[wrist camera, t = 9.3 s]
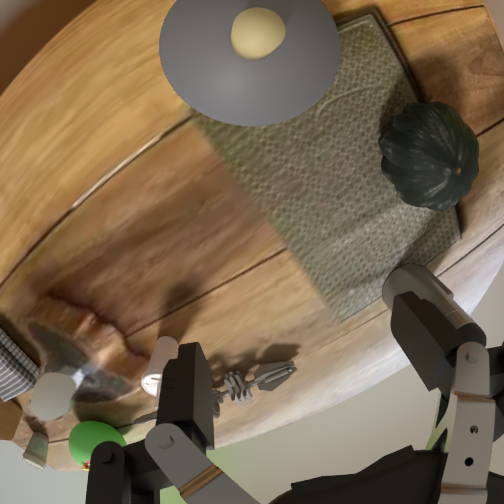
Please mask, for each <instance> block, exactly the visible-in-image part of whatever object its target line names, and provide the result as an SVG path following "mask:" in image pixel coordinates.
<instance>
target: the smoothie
mask: <svg viewBox="0 0 504 504" xmlns="http://www.w3.org/2000/svg"><path fill="white" fill-rule="evenodd" d="M177 356H178V343H177V341H176V340H175V339H174V338H172V337H169V336H162V337H160V338H159V339H158V340H157V342H156V345H155V348H154V351H153V353H152V356H151V359H150V362H149V365H148V367H147V370H146V372H145V373H144V374H143V376H142V387H143V388H144V390H145V391H146V392H148V393H149V394H151V395H153V396H156V401H155V409H158V403H159V395H160V391H161V390H160V388H161V382H162V373H163V369H164V367H165V366H166V364H167V362H168V361H169V359H175V358H177Z"/></svg>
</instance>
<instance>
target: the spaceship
mask: <svg viewBox="0 0 504 504" xmlns="http://www.w3.org/2000/svg"><path fill="white" fill-rule="evenodd" d="M294 366H295V364H294V362H293V361H286V362H284V361H281V362H274V363H267V364H261V365H260V366H259V367H258V369H257V370H256V371H255V372H254V374H253V375H254V377H255V379H254V380H251V381H245V378H243V377H242V375H241V374H240V372H239V371H238V369H237V370H235V372H236V374H237V375H234V374H233V372H230V375H231V377H230V378H229V377H228V375H227V374H224V376H225V378H226V379H225V380H224V382H225V384H226V387H227V389H228V390H226V391H224V392H220V391H218V390H217V389H214V390H213V389H212V390H213V417H214V418H218V417H219V416H220V406H219V403H223V397H225V396H230V397H231V400H232V401H235V402H236V404H237V405H238V406H239V407H242V405H241V404H240V401H242V402H243V403H244V405H247V402H246V400H245V399H248V400H249V402H250V403H253V401H252V399H251V397H252V394H251V392H250V387H253V386H256V385H258V388H259V389H260V390H266V391H273V390H274V389H275V388H277V387H278V386H279V385H280V384H282V383H283V382H284V381H285V380H287V379H288V378H289V377H290V375H291V374H293V373H294V372H295V371H296V370H297V368H296V367H294ZM156 420H157V411H155V412H152V413H150V414H146V415H143V416H141V417H139V418H137V419H135V420H134V423H135V424H143V423H148V422H152V421H156Z"/></svg>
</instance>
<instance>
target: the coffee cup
mask: <svg viewBox="0 0 504 504" xmlns="http://www.w3.org/2000/svg"><path fill="white" fill-rule="evenodd" d="M48 443H49V439H48V438H47V437H46V436H45V435H43V434H41V433H39V432H34V433H33V435H32V437H31V439H30V441H29V444H28V446H27V448H26V450H25V452H24V453H23V459H24V461H25V462H26V463H28V464H30V465H31V466H33V467H35V468H37V469H41V470H44V468H45V467H46V458H47V450H48Z"/></svg>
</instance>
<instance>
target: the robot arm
mask: <svg viewBox="0 0 504 504" xmlns="http://www.w3.org/2000/svg"><path fill="white" fill-rule="evenodd" d="M453 296H454V295H453V293H452V292H451V291H450V290H449V289H448V288H447V287H446V286H445V285H444V284H443V283H442V282H441V281H440V280H439V279H438V278H437V277H436V276H435V275H434V274H432V273H431V272H430V271H429V270H428V269H427V268H426V267H425V266H418V265H416V264H405V265H402V266H401V267H399V268H397V269H396V270H394V271H393V272H392V273H391V274H390V276H389V277H388V278H387V280H386V282H385V284H384V286H383V290H382V298H383V301H384V302H385V304H386V305H387V307H388V308H389V309H390V310H391V311H392V316H391V331H392V334H393V336H394V338H395V339H396V341H397V342H398V344H399V345H400V347H401V348H402V350H403V351H404V353H405V354H406V356H407V357H408V359H409V360H410V362H411V364H412V365H413V367H414V368H415V370H416V371H417V373H418V374H419V376H420V378H421V379H422V381H423V382H424V384H425V386H426V387H427V389H428V391H431V390H433V389H435V388H437V387H438V388H439V390H440V393H439V398H438V403H437V409H436V414H435V419H434V424H433V429H432V433H431V436H430V438H429V441H428V443H427V445H426V448H425V450H415V451H414V450H413V447H412V445H410V446H407V447H405V448H403V449H400V450H398V451H396V452H393V453H391V454H388V455H386V456H384V457H382V458H381V459H379V460H378V461H376V462H375V463H373V464H372V465H370V466H368V467H367V468H365V469H364V470H362V471H360V472H358V473H356V474H349V475H348V474H347V475H334V476H321V477H317V478H313V479H309V480H305V481H300V482H296V483H291V487H292V489H291V490H289V491H287V492H285V493H283V494H281V495H279V496H278V497H276V498H275V499H274V500H273V501H271V502H270V503H269V504H504V476H502V475H499V474H496V473H493V472H490V471H489V466H490V459H491V452H492V444H493V442H495V441H496V440H497V439H498V438H500V437H501V436H502V435H503V434H504V342H503V344H502V346H499V347H493V348H488V349H486V348H485V346H486V335H485V333H484V332H483V330H482V329H481V328H480V327H479V326H478V325H477V324H476V323H475V322H474V320H473V319H472V318H470V316H469V315H468V314H467V313H466V312H465V311H464V310H463V309H462V308H461V307H460V306H459V305H458V304H457V303H456V302H455V301H454V300H453ZM160 390H161V391H160V395H159V403H158V411H157V420H156V425H155V427H153V428H152V429H151V430H150V431H149V432H148V433H147V435H146V438H145V439H143V440H141V441H138V442H135V443H132V444H129V445H126V446H121V445H120V444H118V443H117V442H114V441H105V442H102V443H100V444H98V445H97V446H96V447H95V448H94V450H93V451H92V454H91V459H90V466H89V474H88V483H87V492H86V504H160V489H163V488H167V487H170V486H173V485H174V486H175V487H176V488H177V489H178V490H179V492H180V495H181V497H182V498H183V500H184V501H185V502H186V503H187V504H260V503H259V502H258V501H256V500H255V499H254V498H253V497H252V496H251V495H249V494H248V493H247V492H246V491H245V490H243V489H242V488H241V487H240V486H239V485H238V484H237V483H235V482H234V481H233V480H232V479H231V478H230V477H229V476H228V475H226V474H225V473H224V472H223V471H222V470H221V469H220V468H219V467H217V466H216V465H214V463H212V462H211V461H210V460H209V459H208V458H207V457H206V450H214V425H213V390H212V375H211V370H210V367H209V365H208V362H207V360H206V358H205V355H204V353H203V351H202V348H201V346H200V344H199V342H193V343H187V344H180V345H179V348H178V356H177V358H175V359H169V361H168V362H167V364H166V366H165V367H164V369H163V373H162V382H161V388H160Z"/></svg>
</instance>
